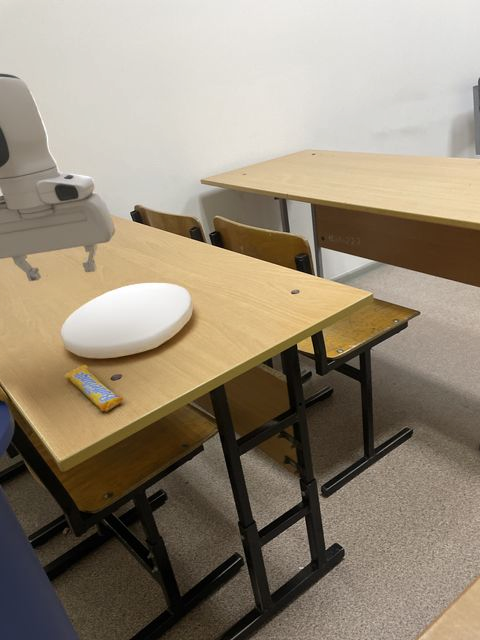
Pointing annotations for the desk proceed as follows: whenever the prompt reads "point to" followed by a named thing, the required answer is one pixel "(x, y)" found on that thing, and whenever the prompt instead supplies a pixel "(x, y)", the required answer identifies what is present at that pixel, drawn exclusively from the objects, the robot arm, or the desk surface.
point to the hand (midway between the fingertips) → (63, 275)
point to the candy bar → (93, 388)
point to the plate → (127, 320)
